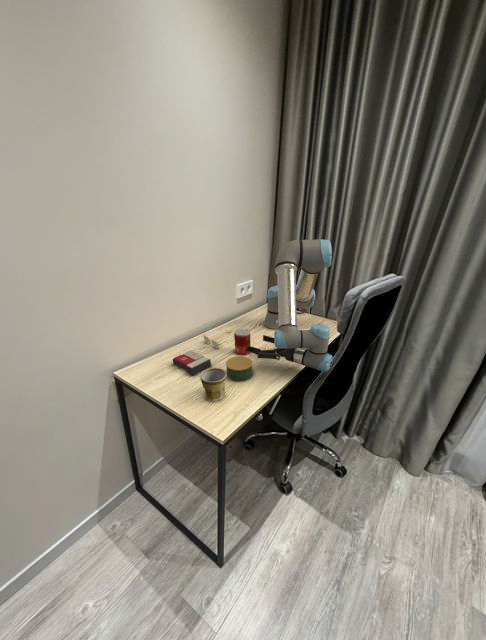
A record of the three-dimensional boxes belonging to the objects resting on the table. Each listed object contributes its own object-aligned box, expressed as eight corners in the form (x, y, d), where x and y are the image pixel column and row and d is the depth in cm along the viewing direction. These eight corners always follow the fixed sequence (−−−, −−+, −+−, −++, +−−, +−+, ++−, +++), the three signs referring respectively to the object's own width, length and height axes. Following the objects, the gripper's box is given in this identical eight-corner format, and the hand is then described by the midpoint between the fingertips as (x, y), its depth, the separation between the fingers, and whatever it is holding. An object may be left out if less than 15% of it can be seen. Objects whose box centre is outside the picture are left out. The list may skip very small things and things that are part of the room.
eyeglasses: (202, 340, 155) (202, 334, 153) (228, 331, 165) (228, 325, 163) (219, 350, 144) (218, 343, 142) (245, 339, 154) (245, 333, 153)
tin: (236, 365, 131) (236, 353, 128) (257, 372, 125) (257, 360, 123) (221, 376, 123) (220, 364, 120) (242, 384, 117) (242, 372, 114)
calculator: (190, 349, 138) (210, 357, 128) (192, 357, 140) (211, 366, 130) (171, 357, 131) (191, 367, 121) (173, 365, 133) (192, 375, 123)
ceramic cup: (230, 401, 108) (229, 379, 103) (204, 406, 105) (201, 384, 100) (223, 382, 119) (221, 362, 114) (199, 386, 116) (197, 366, 111)
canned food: (249, 355, 139) (248, 335, 134) (233, 354, 140) (232, 334, 135) (251, 348, 145) (251, 329, 140) (236, 347, 147) (236, 328, 142)
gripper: (282, 374, 117) (241, 360, 128) (307, 350, 135) (269, 340, 146) (283, 358, 114) (240, 345, 125) (308, 336, 132) (269, 327, 143)
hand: (255, 342), depth 135 cm, fingers open, 13 cm apart
